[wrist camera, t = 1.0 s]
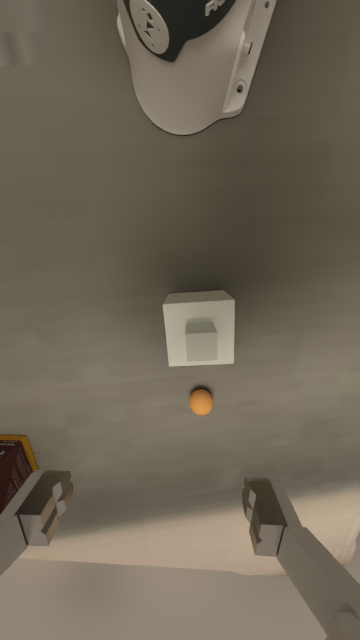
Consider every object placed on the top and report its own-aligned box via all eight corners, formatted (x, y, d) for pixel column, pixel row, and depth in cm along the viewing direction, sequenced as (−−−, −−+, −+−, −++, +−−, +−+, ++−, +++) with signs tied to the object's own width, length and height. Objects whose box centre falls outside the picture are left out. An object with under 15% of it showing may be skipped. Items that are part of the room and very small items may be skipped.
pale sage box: (168, 293, 35) (158, 311, 22) (223, 290, 34) (243, 306, 22) (173, 342, 38) (166, 382, 26) (223, 340, 37) (240, 379, 25)
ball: (196, 381, 40) (197, 397, 36) (215, 390, 41) (219, 407, 36) (185, 397, 42) (185, 414, 37) (204, 405, 42) (206, 424, 38)
